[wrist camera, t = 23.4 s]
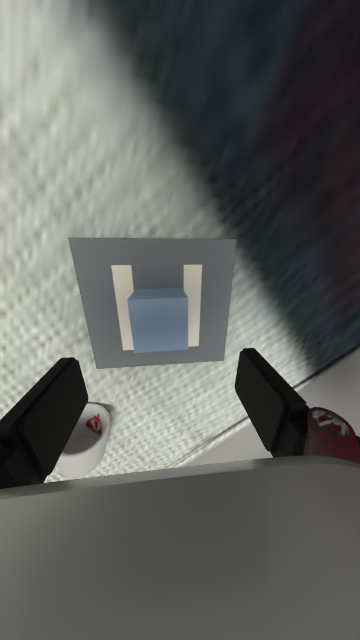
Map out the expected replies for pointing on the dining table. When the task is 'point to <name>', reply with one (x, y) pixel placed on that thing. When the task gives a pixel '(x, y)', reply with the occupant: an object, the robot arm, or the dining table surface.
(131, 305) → the cube
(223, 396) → the dining table surface
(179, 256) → the letter mat
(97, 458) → the cup
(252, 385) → the robot arm
